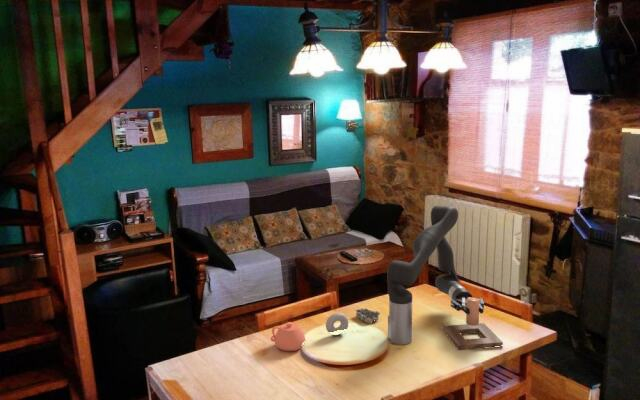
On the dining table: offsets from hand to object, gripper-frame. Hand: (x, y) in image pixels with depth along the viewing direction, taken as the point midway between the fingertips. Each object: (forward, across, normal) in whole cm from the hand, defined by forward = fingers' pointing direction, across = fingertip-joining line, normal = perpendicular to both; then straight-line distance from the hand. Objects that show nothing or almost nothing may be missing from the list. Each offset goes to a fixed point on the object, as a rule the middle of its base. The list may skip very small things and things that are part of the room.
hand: (475, 311), depth 210 cm
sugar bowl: (-6, -75, +12) cm, 77 cm away
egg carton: (-28, -39, +13) cm, 49 cm away
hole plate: (-2, 0, +13) cm, 13 cm away
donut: (-13, -54, +13) cm, 57 cm away
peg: (-3, 0, +6) cm, 7 cm away
